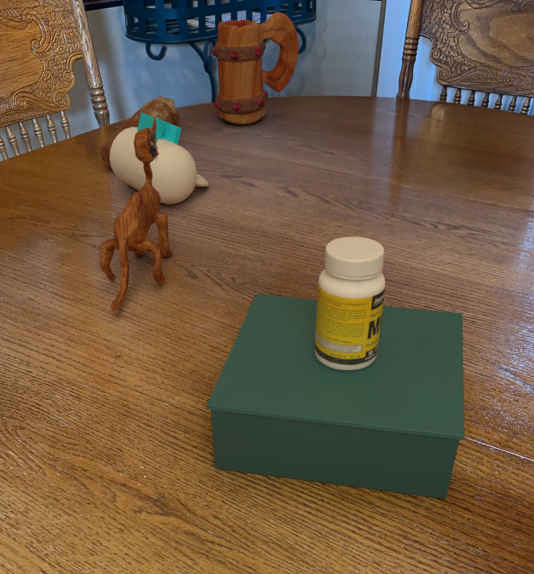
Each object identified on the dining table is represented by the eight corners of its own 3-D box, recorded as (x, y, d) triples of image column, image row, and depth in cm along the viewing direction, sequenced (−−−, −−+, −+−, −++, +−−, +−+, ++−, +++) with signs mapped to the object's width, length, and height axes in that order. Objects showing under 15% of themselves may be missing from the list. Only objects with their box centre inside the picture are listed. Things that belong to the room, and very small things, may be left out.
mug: (223, 131, 114) (218, 22, 104) (207, 117, 119) (201, 13, 109) (305, 121, 118) (308, 15, 108) (286, 108, 123) (287, 7, 113)
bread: (183, 135, 112) (180, 97, 108) (128, 175, 99) (122, 133, 95) (147, 131, 113) (143, 93, 110) (88, 170, 100) (81, 128, 96)
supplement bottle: (374, 375, 51) (388, 266, 45) (310, 369, 51) (315, 260, 46) (378, 341, 54) (391, 236, 49) (318, 335, 55) (323, 231, 49)
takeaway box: (450, 374, 61) (463, 313, 57) (449, 501, 50) (465, 436, 45) (255, 353, 64) (255, 293, 60) (210, 470, 52) (205, 404, 48)
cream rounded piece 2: (170, 126, 82) (119, 104, 89) (151, 205, 86) (104, 178, 93) (244, 149, 90) (192, 128, 97) (224, 220, 94) (176, 195, 101)
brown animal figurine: (147, 324, 68) (129, 180, 59) (82, 320, 69) (53, 176, 59) (187, 246, 81) (177, 118, 72) (132, 243, 82) (115, 116, 73)
